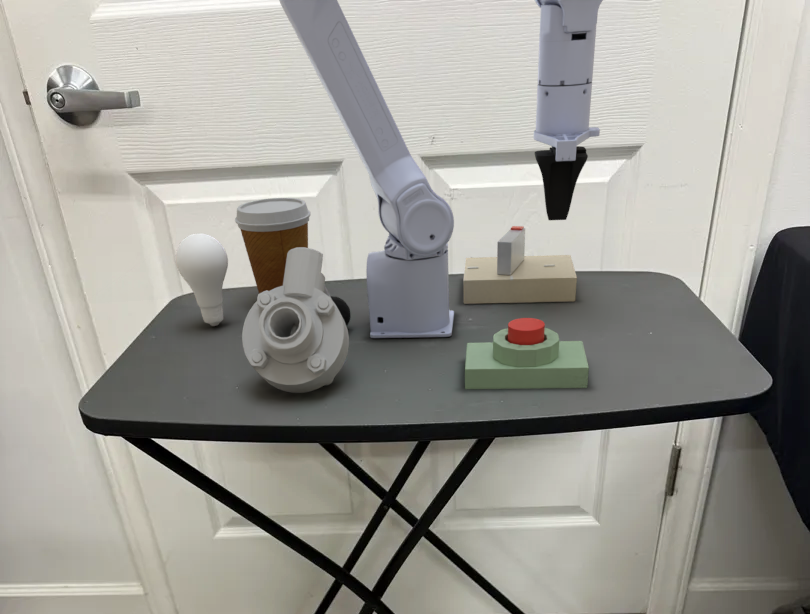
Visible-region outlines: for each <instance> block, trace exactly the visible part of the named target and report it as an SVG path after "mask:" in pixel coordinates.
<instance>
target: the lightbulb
mask: <svg viewBox="0 0 810 614" xmlns="http://www.w3.org/2000/svg"><path fill="white" fill-rule="evenodd" d="M174 257H175V259H174V260H175V261H174V262H175V265H176V269H177V271H178V274H180V276H181V277H182V279H183V281H185V282H186V284H187V285H188V286H189V287H190V289H191V291H192V293H193V295H194V297H195V300H196V304H197V307H199V309H200V314H201V316H202V320H203V322H204V323H206V324H208V325H210V326H211V327H215V326H218V325H220V323H221V322H223V320H224V317H225V316H224V309H223V303H224V298H223V297H224V296H223V288H224V287H223V286H224V281H225V279H226V275H227V271H228V268H229V258H228V257H229V256H228V254H227V251H226V249H225V247H224V246H223V244H222V243H221V242H220V241H219V240H218V239H217V238H215V237H214V236H213V235H210V234H207V233H202V232H201V233H200V232H197V233H192V234H188V235H187V236H186V237H184V238H183V239H182V240H181V241H180V242H179V244H178V245H177V247H176V251H175V256H174Z"/></svg>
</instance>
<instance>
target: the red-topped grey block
mask: <svg viewBox="0 0 810 614" xmlns="http://www.w3.org/2000/svg"><path fill="white" fill-rule="evenodd" d="M496 245H497V247H496V249H497V253H496V257H497V274H499V275H511V274H512V273H513V272H514V271H515V270H516V268H517V267H518V266H519V265H520V264H521V263H522V262H523V260H524V256H525V248H526V228H525V226H521V225H512V226H511V227H510V229H508V231H507V232H506V233H505V234H504V235H503V236H502V237H501V238H499V240H498V241H497V244H496Z"/></svg>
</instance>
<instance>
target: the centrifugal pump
mask: <svg viewBox="0 0 810 614" xmlns="http://www.w3.org/2000/svg"><path fill="white" fill-rule="evenodd" d="M323 257H324V254H323V253H322V252H321V251H318V250H316V249H314V248H310V247H308V248H305V247H297V248H294V249H291V250H289V252H288V253H287V259H286V266H285V274H284V281H283V286H280V287H276V288H274V289H272V290H270V291H268V290H266V291H263V292H262V293H260V294H259V293H258V294H257V298H256V301H255V302H254V303H253V305H252V306H251V308H250V309H249V310H248V311H247V312H248V313H247V315H246V317H245V319H244V323H243V327H242V334H241V340H242V349H243V351H244V355H245V356H246V358H247V361H248V363H249V364H250V366H251V367H252V368H253V369H254V370H255V372H256V373H257V374H258V375H259V376H260V377H261V378H262V379H264V380H265V381H266V382H267V383H268V384H269V385H271V386H272V387H274V388H275V389H278V390H280V391H282V392H287V393H292V394H304V393H309V392H312V391H317V390H318V389H320V388H322V387H323V386H329V385H331V384H333V382H334V378H335V377H336V376H337V375H338V373H339V372H340V371H341V370H342V368H343V366H344V364H345V362H346V359H347V358H348V353H349V348H350V336H349V330H348V325H349V323H350V322H351V309H350V306H349V305H348V304H347V302H346V301H345V300H344V299H342V298H341V297H339V296H334V295H333V296H331V295H330V292H329V290H328V289H327V287H326V285H325V284H326V276H325V275H324V273H322V267H323V261H324V260H323V259H324V258H323Z"/></svg>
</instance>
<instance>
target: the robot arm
mask: <svg viewBox="0 0 810 614" xmlns="http://www.w3.org/2000/svg"><path fill="white" fill-rule="evenodd" d="M278 1H279V4H280V6H281V8H282V9H283V12H284V13H285V15H286V17H287V19H288V21H289V24H290V25H291V26H292V28H293V31H294V33H295V36H296V37H297V38H298V40H299V42H300V45H301V46H302V48H303V50H304V53H305V54H306V56H307V57H308V60H309V63H311V66H312V68H313V70H314V71H315V73H316V75H317V77H318V79H319V82H320V83H321V85H322V87H323V89H324V91H325V92H326V94H327V96H328V99H329V100H330V102H331V104H332V107H333V108H334V110H335V112H336V114H337V116H338V118H339V120H340V122H341V123H342V125H343V127H344V129H345V131H346V133H347V135H348V137H349V139H350V141H351V143H352V144H353V146H354V149H355V150H356V152H357V154H358V156H359V158H360V160H361V162H362V164H363V167H364V168H365V170H366V172H367V174H368V177H369V183H370V187H371V188H372V191H373V192H374V194H375V196H376V200H377V210H378V211H377V212H378V214H377V215H378V219H379V221H380V224H381V226H382V227H383V228H384V230H385V231H386V232H387V233H388V236H387V238H386V240H385V243H384V246H383V250H378V251H369V253H368V254H367V256H366V257H367V258H366V271H365V272H366V273H365V275H366V290H367V303H368V316H369V327H370V333H369V338H371V339H402V338H404V339H410V338H413V339H414V338H449V337H451V336H452V334H453V328H454V319H455V311H454V310H452V309H451V310H450V282H449V281H450V280H449V279H450V278H449V277H450V276H449V274H450V273H449V241H450V240H451V237H452V235H453V232H454V227H455V219H454V214H453V213H454V212H453V210H452V207H451V206H450V205H449V203H448V202H447V201H446V200H445V199H444V198H443V197H441V196H440V195H438V194H437V193H436V191H434V190H433V188H432V187H431V185H430V183H429V181H428V179H427V177H426V175H425V173H424V172H423V171H422V169H421V168H420V166H419V165H418V163H417V162H416V161H415V159H414V157H413V156H412V154H411V152H410V150H409V148H408V146H407V144H406V142H405V140H404V138H403V136H402V133H401V132H400V129H399V128H398V125H397V123H396V121H395V119H394V117H393V115H392V112H391V110H390V108H389V107H388V104H387V102H386V100H385V98H384V95H383V94H382V91H381V89H380V88H379V85H378V83H377V81H376V79H375V77H374V75H373V73H372V70H371V69H370V66H369V63H368V62H367V60H366V58H365V55H364V53H363V52H362V50H361V49H362V48H360V45H359V44H358V41H357V39H356V37H355V35H354V33H353V30H352V28H351V26H350V24H349V22H348V20H347V18H346V15H345V14H344V12H343V9H342V7H341V6H340V3H339V1H338V0H278ZM603 1H604V0H534V2H535V3H536V5H537V7H538V8H540V15H539V16H540V18H539V37H538V59H537V61H538V63H537V86H536V109H535V112H536V115H535V129H534V130H533V140H534V141H536V142H539V143H542V144H544V145H548V146H551V147H549V149H542V150H541V149H540V150H536V151H534V157H535V161H536V163H537V165H538V167H539V170H540V173H541V178H542V184H543V192H544V203H545V210H546V215H547V220H548V221H567V219H568V216H569V213H570V209H571V206H572V200H573V195H574V193H575V189H576V186H577V181H578V179H579V176H580V174H581V172H582V170H583V168H584V166H585V164H586V162H587V160H588V158H589V155H588V153H587V149H586V147H585V146H581V144H582V143H583V142H586V141H587V140H588V139H589V138H596V137H599V136H600V135H601V134H600V132H601V128H599V126H590V117H591V103H592V91H593V90H592V89H593V77H594V65H595V63H594V62H595V52H596V51H595V50H596V49H595V48H596V37H597V24H598V13H599V10H600V6H601V4H602V2H603Z"/></svg>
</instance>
